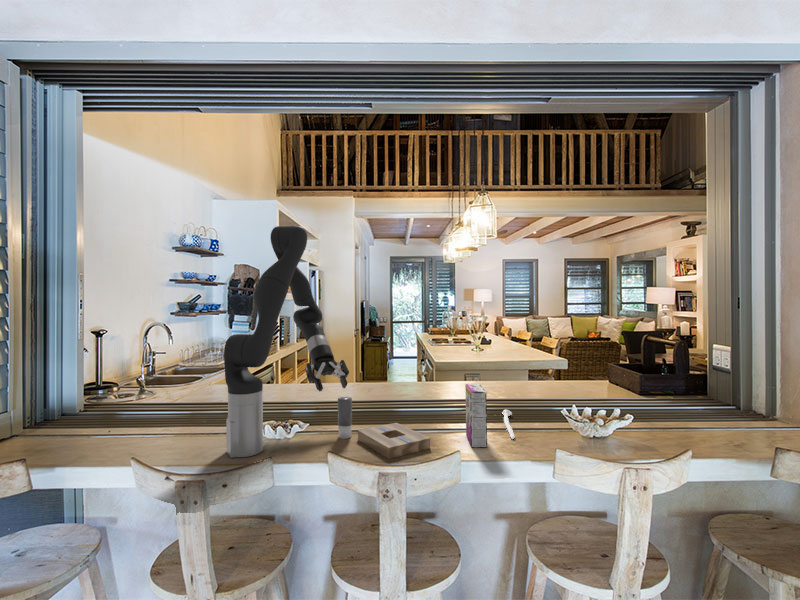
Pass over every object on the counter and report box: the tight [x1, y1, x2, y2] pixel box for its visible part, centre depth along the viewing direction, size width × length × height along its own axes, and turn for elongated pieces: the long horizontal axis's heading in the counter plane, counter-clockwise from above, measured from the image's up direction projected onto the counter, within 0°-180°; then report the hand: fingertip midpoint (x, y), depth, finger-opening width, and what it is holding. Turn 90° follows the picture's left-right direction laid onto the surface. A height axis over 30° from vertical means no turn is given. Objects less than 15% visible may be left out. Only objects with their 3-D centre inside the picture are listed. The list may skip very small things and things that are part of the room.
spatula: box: [501, 409, 516, 440], centre depth 139 cm, size 28×4×3 cm, turn 172°
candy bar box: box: [464, 383, 488, 448], centre depth 124 cm, size 11×5×16 cm, turn 179°
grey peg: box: [337, 396, 353, 440], centre depth 129 cm, size 4×4×12 cm
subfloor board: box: [357, 422, 431, 460], centre depth 122 cm, size 14×18×3 cm
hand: (333, 388), depth 136 cm, fingers open, 8 cm apart
